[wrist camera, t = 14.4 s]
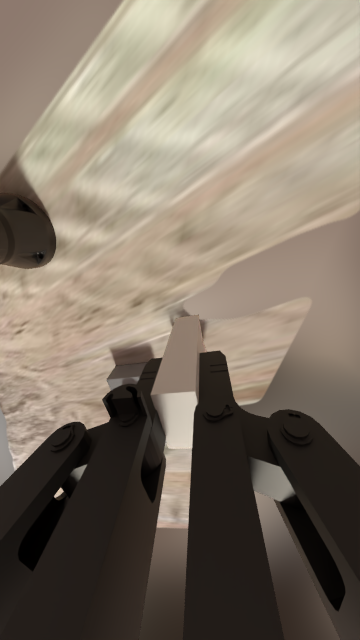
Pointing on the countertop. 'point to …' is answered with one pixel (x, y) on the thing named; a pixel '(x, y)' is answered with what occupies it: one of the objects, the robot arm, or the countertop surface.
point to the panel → (125, 375)
